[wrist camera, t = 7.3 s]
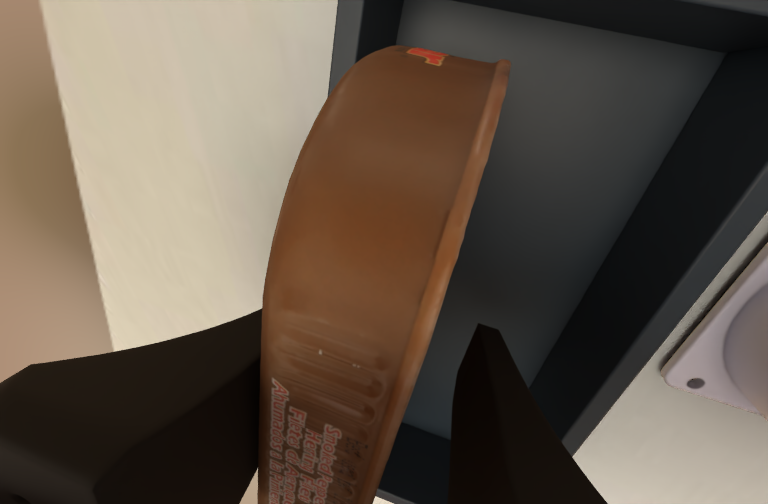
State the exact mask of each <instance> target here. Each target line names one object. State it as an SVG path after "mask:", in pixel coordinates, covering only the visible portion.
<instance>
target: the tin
mask: <svg viewBox="0 0 768 504" xmlns="http://www.w3.org/2000/svg"><path fill="white" fill-rule="evenodd" d="M510 67H511V62H510V61H508V60H499V61H497V62H495V63H488V62H483V61H477V60H472V59H466V58H461V57H457V56H453V55H448V54H444V53H440V52H436V51H431V50H427V49H423V48H417V47H409V46H401V45H396V46H390V47H386V48H384V49H381V50H378V51H375V52H373V53H371V54H369V55H367V56H365V57H364V58H362V59H361V60H359V61H358V62H357V63H355V64H354V65H353V66H352V67H351V68H350V69H349V70H348V71H347V72H346V73H345V74H344V75H343V77H342V78H341V79H340V81H339V82H338V83H337V85H336V86H335V88H334V89H333V90H332V92H331V94H330V95H329V97H328V98H327V100H326V102H325V104H324V105H323V107H322V109H321V111H320V113H319V115H318V116H317V118H316V120H315V122H314V124H313V126H312V128H311V130H310V133H309V135H308V137H307V139H306V141H305V143H304V145H303V147H302V149H301V152H300V154H299V157H298V159H297V162H296V165H295V167H294V170H293V172H292V175H291V178H290V180H289V183H288V187H287V190H286V193H285V196H284V200H283V203H282V207H281V211H280V215H279V218H278V222H277V226H276V230H275V234H274V237H273V242H272V247H271V252H270V257H269V263H268V268H267V273H266V278H265V285H264V293H263V308H262V330H261V361H260V395H259V444H258V504H372V503H373V501H374V498H375V495H376V492H377V489H378V486H379V484H380V481H381V478H382V475H383V472H384V469H385V466H386V463H387V461H388V459H389V456H390V453H391V450H392V447H393V444H394V441H395V438H396V435H397V432H398V429H399V427H400V424H401V422H402V419H403V417H404V414H405V411H406V408H407V405H408V403H409V400H410V397H411V395H412V392H413V389H414V386H415V383H416V381H417V378H418V375H419V372H420V369H421V366H422V364H423V361H424V358H425V355H426V353H427V350H428V347H429V344H430V341H431V338H432V335H433V331H434V328H435V325H436V322H437V319H438V316H439V313H440V310H441V306H442V303H443V300H444V296H445V293H446V290H447V286H448V283H449V280H450V277H451V274H452V271H453V268H454V266H455V263H456V261H457V259H458V255H459V250H460V247H461V244H462V242H463V239H464V234H465V229H466V226H467V223H468V220H469V217H470V213H471V209H472V207H473V204H474V201H475V198H476V195H477V191H478V187H479V184H480V181H481V178H482V174H483V171H484V168H485V165H486V163H487V161H488V157H489V152H490V148H491V144H492V141H493V137H494V134H495V131H496V128H497V124H498V120H499V116H500V111H501V107H502V103H503V100H504V97H505V94H506V89H507V86H508V79H509V74H510Z"/></svg>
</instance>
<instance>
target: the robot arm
mask: <svg viewBox="0 0 768 504" xmlns="http://www.w3.org/2000/svg"><path fill="white" fill-rule="evenodd" d="M261 330H262V309H260V310H258V311H255V312H253V313H251V314H248V315H246V316H243V317H241V318H238V319H236V320H233V321H230V322H227V323H224V324H221V325H218V326H216V327H213V328H209V329H206V330H203V331H199V332H196V333H192V334H189V335H185V336H181V337H178V338H174V339H170V340H167V341H163V342H159V343H154V344H150V345H145V346H141V347H136V348H131V349H126V350H121V351H116V352H111V353H106V354H100V355H94V356H87V357H81V358H74V359H67V360H60V361H54V362H48V363H40V364H31V365H29V366H28V367H26V368H24V369H23V370H21V371H19V372H18V373H16V374H14V375H13V376H11V377H9V378H8V379H6V380H4V381H3V382H1V383H0V504H239V503H240V501H241V499H242V497H243V495H244V493H245V491H246V490H247V488H248V486H249V484H250V482H251V480H252V478H253V476H254V474H255V472H256V470H257V469H258V444H259V395H260V361H261ZM661 376H662V377H663V379H664V380H665V382H666V383H667V384H668V385H669V386H671V387H674V388H677V389H680V390H683V391H687V392H690V393H693V394H696V395H699V396H702V397H705V398H709V399H712V400H715V401H718V402H721V403H724V404H727V405H731V406H734V407H737V408H740V409H743V410H746V411H749V412H753V413H756V414H759V415H762V416H764V418H765V419H766V420H767V421H768V242H767V244H766V245H765V246H764V247H763V248H762V250H761V251H760V252H759V253H758V254H757V255H756V257H755V258H754V259H753V260H752V261H751V263H750V264H749V265H748V266H747V267H746V269H745V270H744V271H743V272H742V273H741V275H740V276H739V277H738V278H737V279H736V281H735V282H734V283H733V284H732V285H731V287H730V288H729V289H728V290H727V291H726V293H725V294H724V295H723V296H722V297H721V299H720V300H719V301H718V302H717V303H716V305H715V306H714V307H713V308H712V309H711V311H710V312H709V313H708V314H707V315H706V317H705V318H704V319H703V320H702V321H701V323H700V324H699V325H698V326H697V327H696V329H695V330H694V331H693V332H692V333H691V334H690V336H689V337H688V338H687V339H686V340H685V342H684V343H683V344H682V345H681V346H680V348H679V349H678V350H677V351H676V352H675V354H674V355H673V356H672V357H671V358H670V360H669V361H668V362H667V363H666V364H665V366H664V367H663V368H662V370H661ZM694 378H697V379H695V380H692V381H689V380H691V379H694ZM447 504H607V502H606V501H605V500H604V499H603V497H602V496H601V495H600V494H599V492H598V491H597V490H596V489H595V487H594V486H593V485H592V483H591V482H590V481H589V480H588V478H587V477H586V476H585V474H584V473H583V472H582V470H581V469H580V468H579V466H578V465H577V463H576V462H575V461H574V459H573V458H572V456H571V455H570V453H569V452H568V451H567V449H566V448H565V446H564V445H563V444H562V442H561V441H560V439H559V438H558V436H557V435H556V433H555V432H554V430H553V429H552V427H551V426H550V424H549V422H548V421H547V419H546V417H545V416H544V414H543V413H542V411H541V409H540V408H539V406H538V404H537V403H536V401H535V399H534V397H533V396H532V394H531V392H530V390H529V388H528V386H527V385H526V383H525V381H524V379H523V377H522V375H521V373H520V371H519V370H518V368H517V366H516V364H515V362H514V360H513V358H512V355H511V353H510V351H509V349H508V347H507V345H506V343H505V341H504V339H503V337H502V335H501V333H500V331H499V330H498V329H495V328H492V327H489V326H486V325H483V324H480V323H478V325H477V327H476V329H475V332H474V334H473V336H472V339H471V341H470V343H469V346H468V348H467V350H466V353H465V355H464V357H463V360H462V362H461V364H460V367H459V369H458V371H457V377H456V383H455V389H454V395H453V402H452V421H451V445H450V470H449V488H448V500H447Z"/></svg>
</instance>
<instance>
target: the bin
mask: <svg viewBox="0 0 768 504" xmlns="http://www.w3.org/2000/svg"><path fill="white" fill-rule="evenodd" d="M396 45H401V46H409V47H417V48H423V49H427V50H431V51H436V52H440V53H444V54H448V55H453V56H457V57H461V58H466V59H472V60H477V61H483V62H488V63H495V62H497V61H499V60H508V61H510V62H511V67H510V74H509V79H508V86H507V89H506V94H505V97H504V100H503V103H502V107H501V111H500V116H499V120H498V124H497V128H496V131H495V134H494V137H493V141H492V144H491V148H490V152H489V157H488V161H487V163H486V165H485V168H484V171H483V174H482V178H481V181H480V184H479V187H478V191H477V195H476V198H475V201H474V204H473V207H472V209H471V213H470V217H469V220H468V223H467V226H466V229H465V234H464V239H463V242H462V244H461V247H460V250H459V255H458V259H457V261H456V263H455V266H454V268H453V271H452V274H451V277H450V280H449V283H448V286H447V290H446V293H445V296H444V300H443V303H442V306H441V310H440V313H439V316H438V319H437V322H436V325H435V328H434V331H433V335H432V338H431V341H430V344H429V347H428V350H427V353H426V355H425V358H424V361H423V364H422V366H421V369H420V372H419V375H418V378H417V381H416V383H415V386H414V389H413V392H412V395H411V397H410V400H409V403H408V405H407V408H406V411H405V414H404V417H403V419H402V422H401V424H400V427H399V429H398V432H397V435H396V438H395V441H394V444H393V447H392V450H391V453H390V456H389V459H388V461H387V463H386V466H385V469H384V472H383V475H382V478H381V481H380V484H379V486H378V489H377V492H376V495H375V496H377V497H379V498H382V499H384V500H387V501H389V502H392V503H394V504H447V500H448V488H449V470H450V445H451V421H452V402H453V395H454V389H455V383H456V377H457V371H458V369H459V367H460V364H461V362H462V360H463V357H464V355H465V353H466V350H467V348H468V346H469V343H470V341H471V339H472V336H473V334H474V332H475V329H476V327H477V325H478V323H480V324H483V325H486V326H489V327H492V328H495V329H498V330H499V331H500V333H501V335H502V337H503V339H504V341H505V343H506V345H507V347H508V349H509V351H510V353H511V355H512V358H513V360H514V362H515V364H516V366H517V368H518V370H519V371H520V373H521V375H522V377H523V379H524V381H525V383H526V385H527V386H528V388H529V390H530V392H531V394H532V396H533V397H534V399H535V401H536V403H537V404H538V406H539V408H540V409H541V411H542V413H543V414H544V416H545V417H546V419H547V421H548V422H549V424H550V426H551V427H552V429H553V430H554V432H555V433H556V435H557V436H558V438H559V439H560V441H561V442H562V444H563V445H564V446H565V448H566V449H567V451H568V452H569V453H570V455H571V456H573V455H574V454H575V453H576V451H577V450H578V449H579V447H580V446H581V445H582V444H583V442H584V441H585V440H586V439H587V437H588V436H589V435H590V434H591V432H592V431H593V430H594V429H595V427H596V426H597V425H598V424H599V422H600V421H601V420H602V419H603V417H604V416H605V415H606V414H607V412H608V411H609V410H610V409H611V407H612V406H613V405H614V404H615V402H616V401H617V400H618V398H619V397H620V396H621V395H622V393H623V392H624V391H625V390H626V388H627V387H628V386H629V385H630V383H631V382H632V381H633V380H634V378H635V377H636V376H637V375H638V373H639V372H640V371H641V370H642V368H643V367H644V366H645V365H646V363H647V362H648V361H649V360H650V358H651V357H652V356H653V355H654V353H655V352H656V351H657V349H658V348H659V347H660V346H661V344H662V343H663V342H664V341H665V339H666V338H667V337H668V336H669V334H670V333H671V332H672V331H673V329H674V328H675V327H676V326H677V324H678V323H679V322H680V321H681V319H682V318H683V317H684V316H685V314H686V313H687V312H688V311H689V309H690V308H691V307H692V306H693V304H694V303H695V302H696V300H697V299H698V298H699V297H700V295H701V294H702V293H703V292H704V290H705V289H706V288H707V287H708V285H709V284H710V283H711V282H712V280H713V279H714V278H715V277H716V275H717V274H718V273H719V272H720V270H721V269H722V268H723V267H724V265H725V264H726V263H727V262H728V260H729V259H730V258H731V257H732V255H733V254H734V253H735V252H736V250H737V249H738V248H739V246H740V245H741V244H742V243H743V241H744V240H745V239H746V238H747V236H748V235H749V234H750V233H751V231H752V230H753V229H754V228H755V226H756V225H757V224H758V223H759V221H760V220H761V219H762V218H763V216H764V215H765V214H766V213H767V211H768V0H338V6H337V15H336V25H335V34H334V43H333V53H332V62H331V71H330V81H329V90H328V97H329V95H330V94H331V92H332V90H333V89H334V88H335V86H336V85H337V83H338V82H339V81H340V79H341V78H342V77H343V75H344V74H345V73H346V72H347V71H348V70H349V69H350V68H351V67H352V66H353V65H354V64H355V63H357V62H358V61H359V60H361V59H362V58H364V57H365V56H367V55H369V54H371V53H373V52H375V51H378V50H381V49H384V48H386V47H390V46H396Z"/></svg>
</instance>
